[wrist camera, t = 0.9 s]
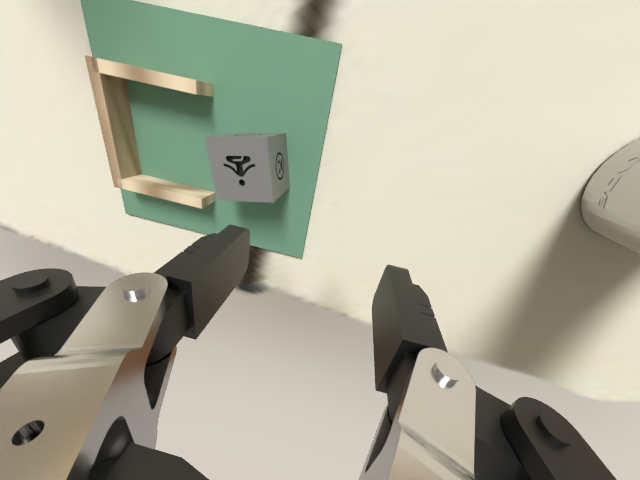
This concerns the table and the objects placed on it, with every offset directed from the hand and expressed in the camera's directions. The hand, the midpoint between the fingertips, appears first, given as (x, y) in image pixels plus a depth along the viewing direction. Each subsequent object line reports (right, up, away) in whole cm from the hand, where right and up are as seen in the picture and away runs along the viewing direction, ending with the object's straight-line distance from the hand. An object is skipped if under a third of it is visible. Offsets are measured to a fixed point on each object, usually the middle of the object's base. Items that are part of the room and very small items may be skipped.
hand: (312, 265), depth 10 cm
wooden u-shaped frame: (-14, +11, +14) cm, 23 cm away
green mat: (-11, +10, +14) cm, 21 cm away
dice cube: (-5, +9, +14) cm, 17 cm away
